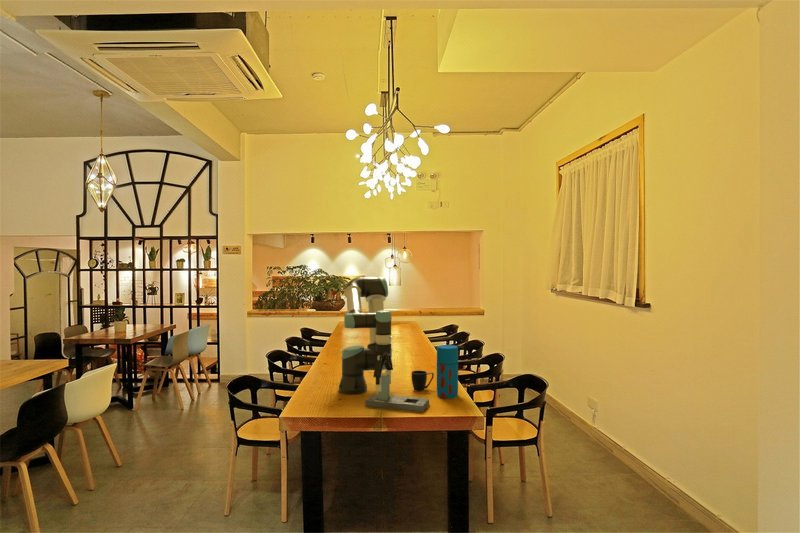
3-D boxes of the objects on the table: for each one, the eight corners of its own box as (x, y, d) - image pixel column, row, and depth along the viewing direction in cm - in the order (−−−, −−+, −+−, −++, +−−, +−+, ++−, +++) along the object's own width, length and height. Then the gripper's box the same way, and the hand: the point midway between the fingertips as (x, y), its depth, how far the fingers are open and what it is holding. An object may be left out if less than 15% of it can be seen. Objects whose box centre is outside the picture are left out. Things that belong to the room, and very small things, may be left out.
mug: (435, 391, 239) (435, 373, 239) (412, 392, 238) (412, 374, 238) (432, 387, 247) (432, 370, 247) (410, 388, 246) (410, 370, 246)
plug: (377, 405, 215) (377, 374, 215) (380, 402, 219) (380, 372, 219) (386, 406, 213) (386, 375, 213) (389, 403, 218) (389, 372, 218)
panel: (365, 406, 213) (365, 399, 213) (374, 399, 224) (374, 393, 224) (422, 412, 204) (422, 405, 204) (429, 404, 215) (429, 398, 215)
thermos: (444, 391, 239) (444, 344, 239) (462, 395, 232) (461, 346, 232) (432, 396, 230) (432, 347, 230) (450, 400, 223) (450, 349, 223)
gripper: (381, 348, 203) (381, 395, 204) (399, 339, 227) (398, 381, 227) (366, 347, 206) (366, 393, 206) (384, 338, 229) (384, 380, 230)
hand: (383, 387), depth 217 cm, fingers open, 13 cm apart
